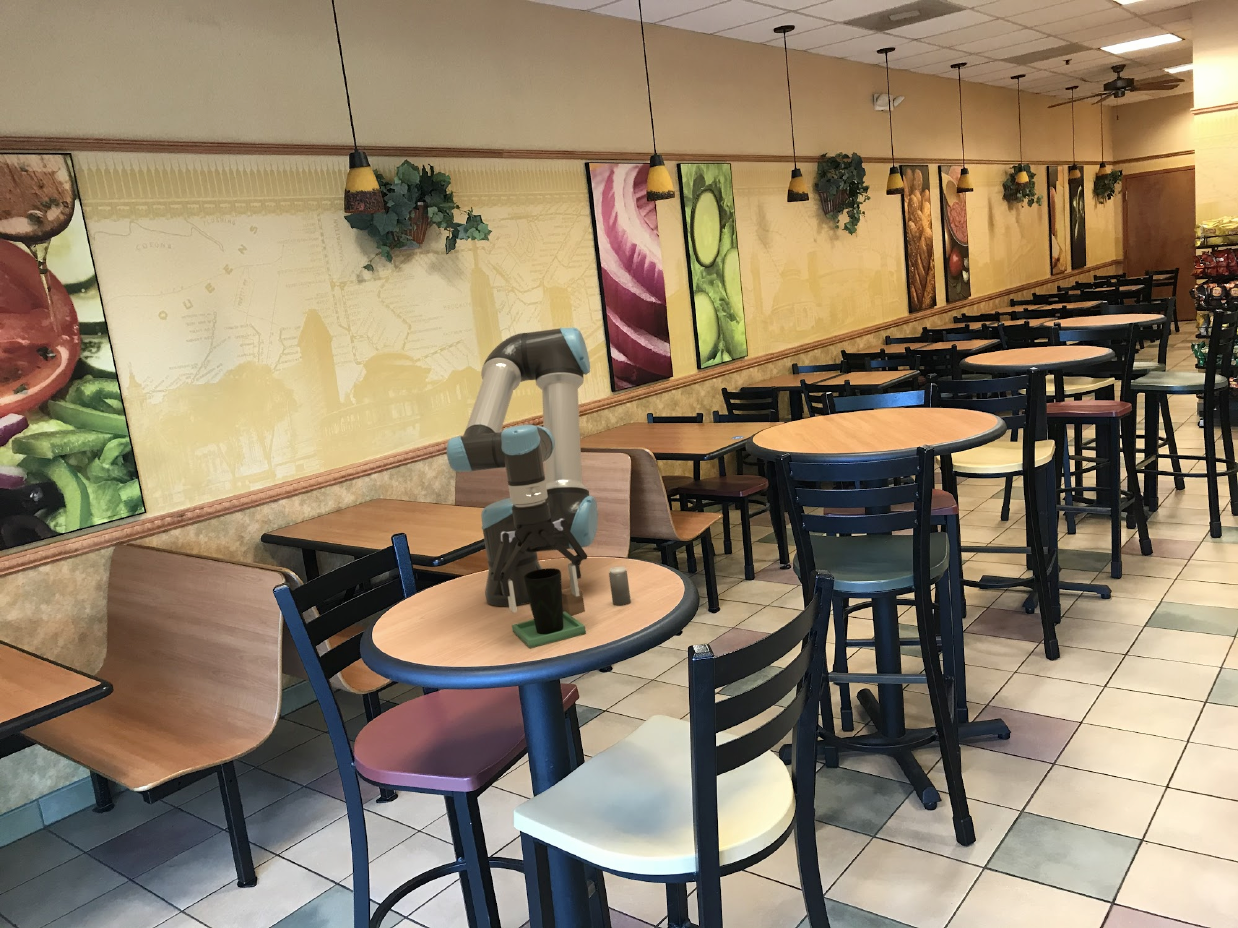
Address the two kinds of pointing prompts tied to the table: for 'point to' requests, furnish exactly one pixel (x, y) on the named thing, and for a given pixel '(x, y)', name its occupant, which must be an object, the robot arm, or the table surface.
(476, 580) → the table surface
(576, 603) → the walnut block
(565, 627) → the tray
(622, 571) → the pepper shaker
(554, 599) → the cup
